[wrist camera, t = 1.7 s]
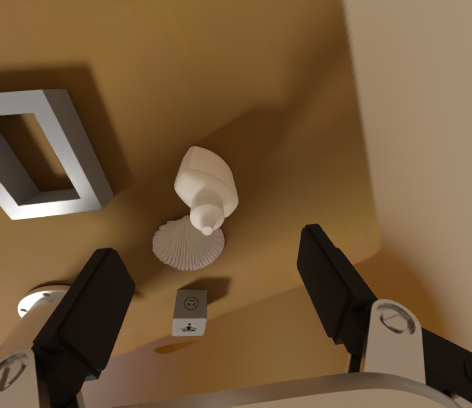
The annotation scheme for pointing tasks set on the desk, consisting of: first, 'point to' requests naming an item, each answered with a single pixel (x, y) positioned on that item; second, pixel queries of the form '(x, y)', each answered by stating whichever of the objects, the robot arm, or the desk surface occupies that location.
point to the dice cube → (190, 313)
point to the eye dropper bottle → (206, 188)
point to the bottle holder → (67, 150)
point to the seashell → (186, 245)
